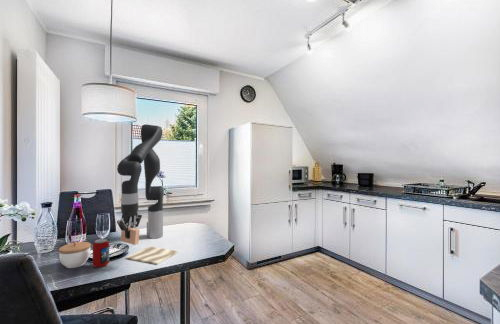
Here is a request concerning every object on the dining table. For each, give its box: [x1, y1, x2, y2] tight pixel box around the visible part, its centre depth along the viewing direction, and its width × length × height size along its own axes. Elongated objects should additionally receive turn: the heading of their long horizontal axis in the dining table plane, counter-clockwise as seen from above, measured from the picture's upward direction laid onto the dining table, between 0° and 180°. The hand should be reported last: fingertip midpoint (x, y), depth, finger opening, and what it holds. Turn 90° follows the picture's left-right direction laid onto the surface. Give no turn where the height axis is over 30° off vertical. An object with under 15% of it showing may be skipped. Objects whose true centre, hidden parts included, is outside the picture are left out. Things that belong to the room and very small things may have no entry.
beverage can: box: [92, 238, 110, 268], centre depth 116 cm, size 7×7×12 cm
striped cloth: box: [125, 246, 179, 266], centre depth 128 cm, size 20×16×1 cm
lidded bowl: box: [58, 241, 92, 269], centre depth 117 cm, size 13×13×11 cm
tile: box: [120, 227, 140, 246], centre depth 118 cm, size 9×2×7 cm, turn 70°
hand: (129, 237), depth 118 cm, fingers closed on tile, 2 cm apart
